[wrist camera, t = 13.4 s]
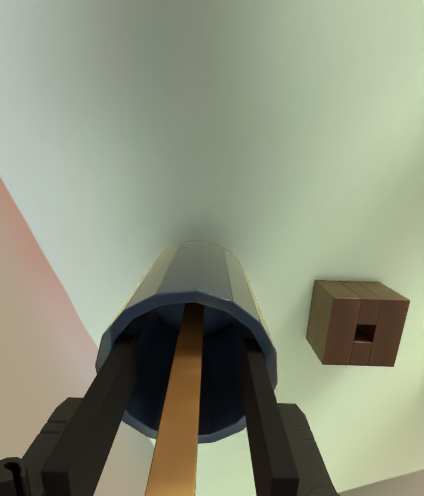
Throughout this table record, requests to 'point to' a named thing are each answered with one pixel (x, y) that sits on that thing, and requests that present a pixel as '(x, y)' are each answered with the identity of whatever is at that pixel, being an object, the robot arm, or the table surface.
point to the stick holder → (356, 323)
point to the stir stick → (180, 413)
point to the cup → (214, 336)
